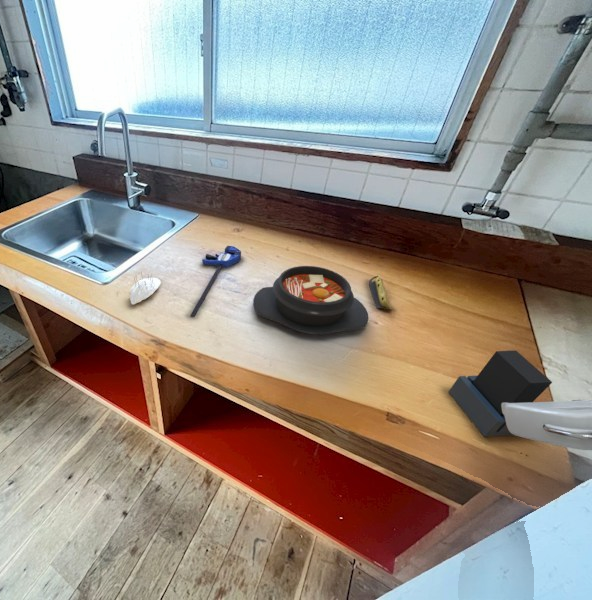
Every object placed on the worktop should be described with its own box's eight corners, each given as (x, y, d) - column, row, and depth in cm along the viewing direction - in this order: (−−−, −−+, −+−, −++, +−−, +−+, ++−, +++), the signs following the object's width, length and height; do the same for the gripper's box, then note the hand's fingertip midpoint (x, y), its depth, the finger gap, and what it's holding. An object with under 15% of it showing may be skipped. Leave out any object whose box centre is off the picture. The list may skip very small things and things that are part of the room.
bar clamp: (211, 242, 99) (243, 246, 96) (211, 249, 100) (243, 254, 97) (169, 306, 76) (209, 315, 73) (170, 314, 77) (209, 323, 74)
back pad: (511, 423, 49) (552, 382, 43) (491, 424, 49) (530, 383, 43) (482, 391, 54) (516, 350, 48) (464, 392, 54) (496, 351, 48)
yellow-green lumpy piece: (371, 284, 85) (383, 279, 83) (379, 317, 74) (393, 312, 73) (365, 275, 84) (377, 270, 82) (372, 307, 73) (386, 301, 72)
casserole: (248, 332, 70) (251, 301, 65) (256, 284, 84) (259, 256, 79) (373, 349, 64) (387, 317, 59) (358, 295, 79) (369, 266, 74)
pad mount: (526, 435, 49) (543, 419, 47) (484, 437, 49) (498, 421, 47) (484, 390, 56) (497, 374, 53) (448, 391, 56) (459, 375, 53)
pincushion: (148, 278, 88) (146, 260, 85) (167, 283, 86) (166, 265, 83) (122, 302, 80) (118, 283, 77) (143, 308, 78) (140, 289, 74)
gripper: (594, 475, 30) (469, 434, 43) (816, 467, 30) (620, 428, 43) (580, 404, 31) (461, 386, 44) (796, 396, 31) (610, 381, 44)
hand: (541, 407), depth 44 cm, fingers open, 8 cm apart
